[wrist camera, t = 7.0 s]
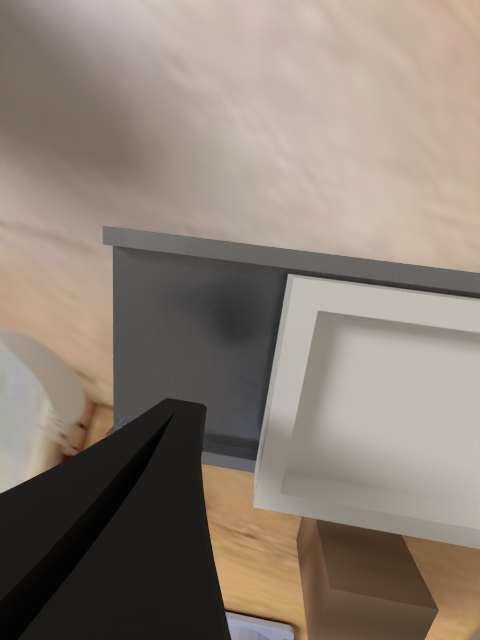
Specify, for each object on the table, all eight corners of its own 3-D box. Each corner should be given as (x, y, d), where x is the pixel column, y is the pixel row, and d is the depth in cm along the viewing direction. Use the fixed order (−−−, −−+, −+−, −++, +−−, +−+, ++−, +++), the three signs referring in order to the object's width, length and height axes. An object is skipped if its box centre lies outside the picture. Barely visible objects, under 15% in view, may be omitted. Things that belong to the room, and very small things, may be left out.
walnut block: (364, 552, 16) (407, 675, 12) (296, 539, 17) (309, 654, 12) (383, 498, 15) (438, 610, 10) (309, 485, 16) (330, 588, 11)
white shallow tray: (474, 485, 14) (544, 561, 10) (255, 448, 14) (253, 507, 11) (554, 307, 11) (683, 328, 8) (285, 271, 12) (294, 277, 8)
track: (502, 496, 14) (553, 547, 12) (119, 430, 16) (91, 462, 13) (604, 290, 11) (700, 299, 9) (119, 229, 13) (84, 222, 10)
